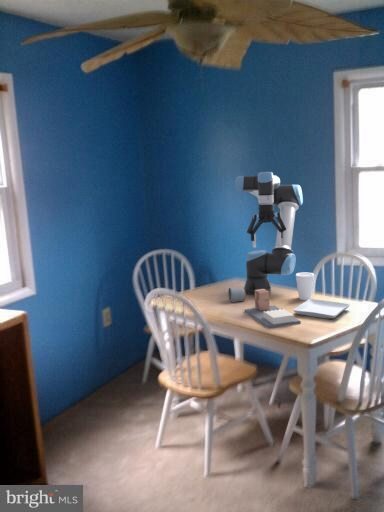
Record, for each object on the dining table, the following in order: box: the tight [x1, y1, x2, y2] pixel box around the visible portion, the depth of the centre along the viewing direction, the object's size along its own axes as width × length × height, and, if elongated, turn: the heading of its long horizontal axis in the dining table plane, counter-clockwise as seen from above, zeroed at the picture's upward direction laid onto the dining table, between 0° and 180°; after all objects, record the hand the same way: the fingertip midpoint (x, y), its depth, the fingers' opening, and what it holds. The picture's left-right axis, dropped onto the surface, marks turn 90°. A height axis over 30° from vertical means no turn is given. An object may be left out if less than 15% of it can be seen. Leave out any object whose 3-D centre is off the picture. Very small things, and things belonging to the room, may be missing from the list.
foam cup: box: [295, 271, 315, 301], centre depth 280 cm, size 10×9×13 cm
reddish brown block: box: [254, 289, 270, 311], centre depth 260 cm, size 6×5×9 cm
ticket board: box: [243, 304, 302, 329], centre depth 251 cm, size 28×16×4 cm, turn 16°
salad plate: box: [292, 298, 351, 319], centre depth 255 cm, size 21×21×3 cm
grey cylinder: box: [227, 287, 247, 303], centre depth 283 cm, size 11×8×8 cm
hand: (267, 246), depth 266 cm, fingers open, 13 cm apart
